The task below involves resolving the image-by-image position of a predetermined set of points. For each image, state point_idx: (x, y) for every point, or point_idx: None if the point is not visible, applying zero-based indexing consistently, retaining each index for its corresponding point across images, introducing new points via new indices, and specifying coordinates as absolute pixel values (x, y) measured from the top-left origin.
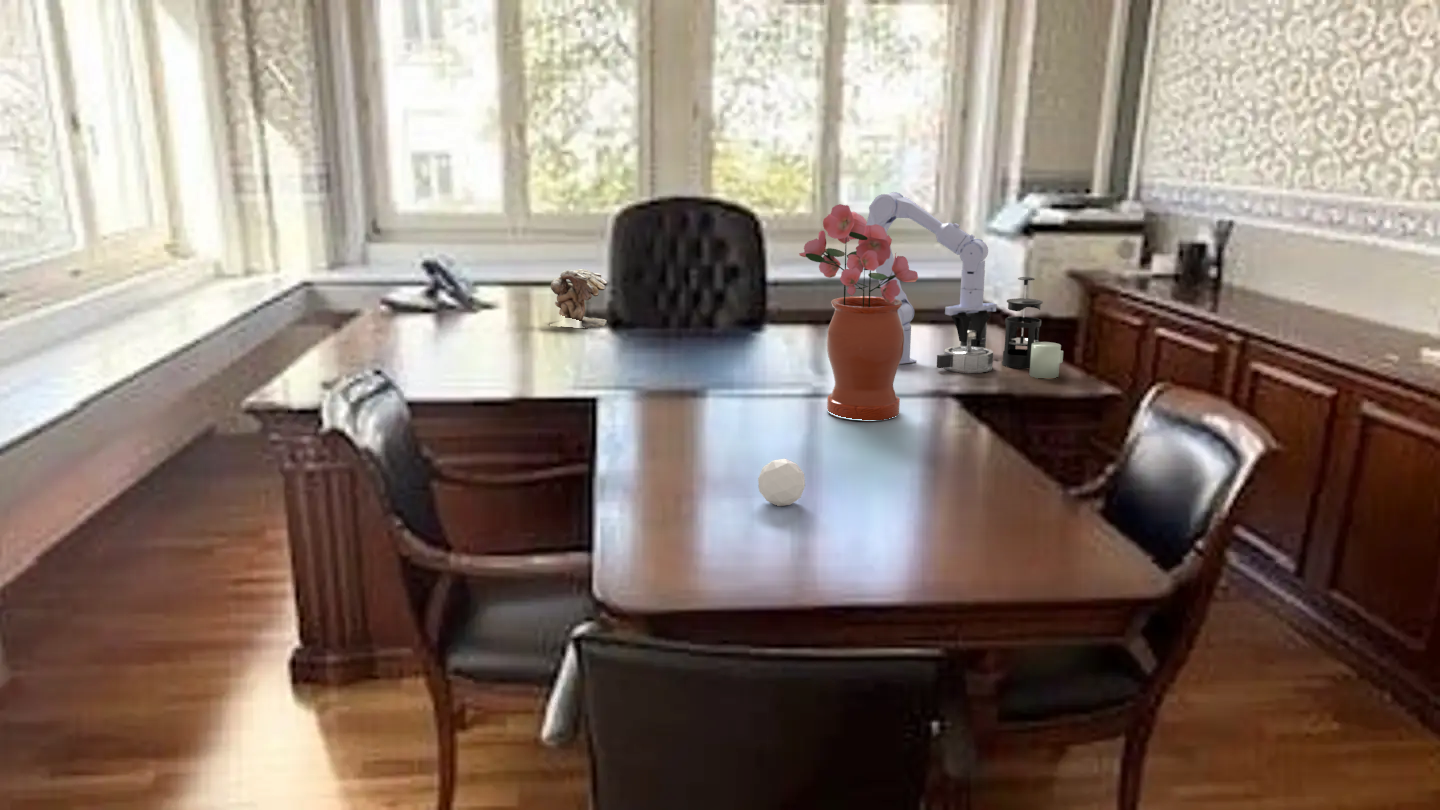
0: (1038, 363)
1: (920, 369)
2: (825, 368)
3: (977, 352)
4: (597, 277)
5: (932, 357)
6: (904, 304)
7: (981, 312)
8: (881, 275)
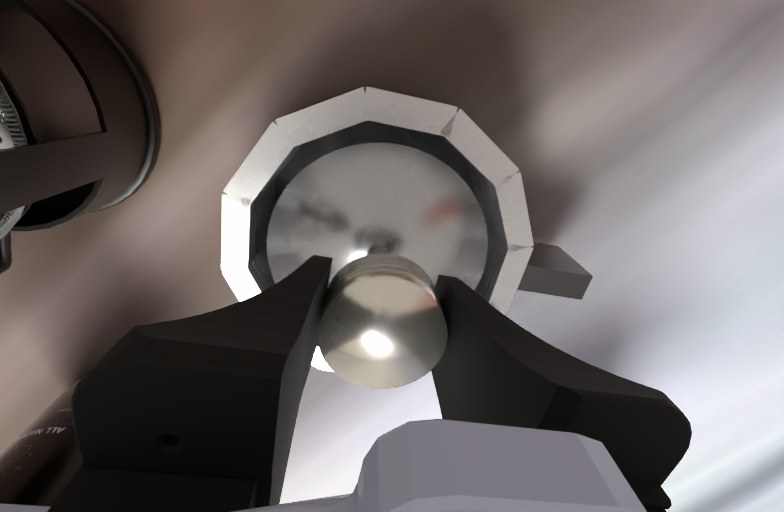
0: None
1: (556, 317)
2: (747, 471)
3: (351, 207)
4: None
5: (342, 425)
6: None
7: (207, 493)
8: None
